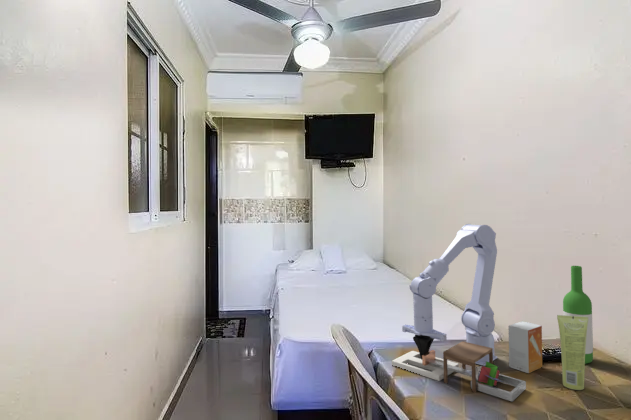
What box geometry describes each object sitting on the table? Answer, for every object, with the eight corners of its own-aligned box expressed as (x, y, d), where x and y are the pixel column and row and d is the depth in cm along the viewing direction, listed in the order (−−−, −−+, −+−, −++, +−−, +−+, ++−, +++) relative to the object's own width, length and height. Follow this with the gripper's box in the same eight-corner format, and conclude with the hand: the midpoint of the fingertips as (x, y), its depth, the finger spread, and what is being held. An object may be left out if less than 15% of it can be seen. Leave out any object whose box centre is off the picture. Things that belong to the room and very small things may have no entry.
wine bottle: (564, 353, 132) (562, 263, 131) (593, 358, 127) (591, 265, 127) (563, 361, 125) (561, 267, 125) (593, 366, 121) (590, 268, 121)
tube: (571, 380, 112) (569, 312, 112) (590, 387, 107) (588, 316, 107) (558, 385, 109) (556, 314, 109) (577, 392, 105) (575, 319, 105)
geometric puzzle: (494, 371, 114) (480, 352, 112) (513, 381, 108) (499, 360, 106) (479, 390, 112) (464, 370, 110) (498, 401, 106) (483, 380, 104)
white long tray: (435, 362, 127) (435, 348, 127) (525, 388, 107) (525, 372, 107) (419, 371, 120) (418, 356, 120) (512, 401, 100) (511, 384, 100)
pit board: (412, 354, 134) (412, 350, 134) (458, 368, 122) (458, 363, 122) (391, 365, 126) (391, 360, 126) (439, 380, 114) (439, 375, 114)
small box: (529, 374, 117) (528, 330, 117) (508, 367, 122) (507, 325, 122) (543, 367, 121) (542, 325, 121) (522, 361, 127) (521, 320, 127)
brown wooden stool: (463, 369, 121) (462, 341, 121) (493, 378, 115) (492, 348, 115) (444, 382, 113) (443, 351, 113) (474, 392, 106) (474, 360, 106)
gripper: (396, 314, 127) (397, 356, 127) (437, 323, 116) (438, 369, 116) (408, 309, 131) (409, 350, 132) (449, 317, 121) (450, 362, 121)
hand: (424, 358), depth 124 cm, fingers closed
